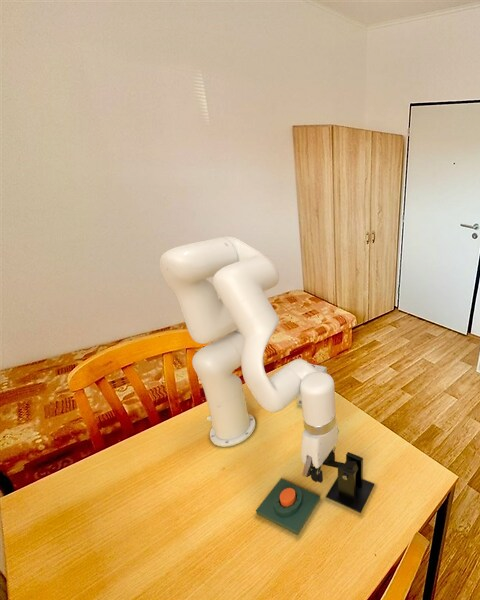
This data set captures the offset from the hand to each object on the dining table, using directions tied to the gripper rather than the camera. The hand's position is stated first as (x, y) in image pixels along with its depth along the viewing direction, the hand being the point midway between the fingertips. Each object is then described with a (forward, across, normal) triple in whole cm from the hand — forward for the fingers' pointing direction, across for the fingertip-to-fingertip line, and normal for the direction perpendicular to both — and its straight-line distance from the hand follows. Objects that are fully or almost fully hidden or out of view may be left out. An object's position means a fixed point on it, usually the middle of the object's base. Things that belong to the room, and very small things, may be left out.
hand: (323, 470), depth 84 cm
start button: (+1, +10, -4) cm, 10 cm away
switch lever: (-3, 0, +5) cm, 6 cm away
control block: (+5, +10, -4) cm, 11 cm away
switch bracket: (+5, 0, +8) cm, 9 cm away
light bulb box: (+5, -25, -21) cm, 33 cm away
